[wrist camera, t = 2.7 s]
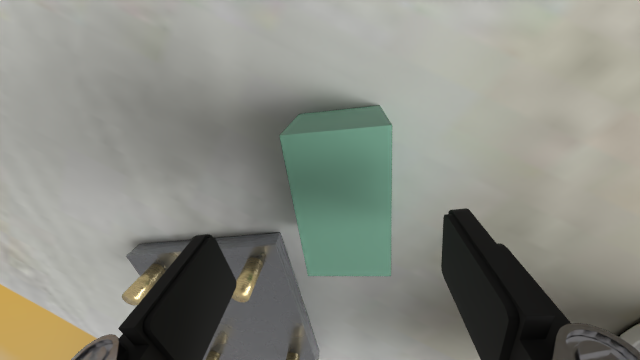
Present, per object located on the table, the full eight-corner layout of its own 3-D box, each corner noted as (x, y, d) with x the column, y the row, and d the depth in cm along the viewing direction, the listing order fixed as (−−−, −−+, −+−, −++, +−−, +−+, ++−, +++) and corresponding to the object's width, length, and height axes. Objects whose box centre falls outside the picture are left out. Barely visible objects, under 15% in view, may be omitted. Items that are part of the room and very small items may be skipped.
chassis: (280, 232, 20) (262, 276, 16) (319, 351, 27) (313, 401, 23) (139, 244, 22) (93, 284, 18) (209, 349, 30) (187, 394, 26)
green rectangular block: (379, 104, 15) (392, 125, 10) (381, 224, 18) (390, 276, 14) (299, 113, 15) (279, 135, 11) (317, 226, 19) (308, 275, 15)
